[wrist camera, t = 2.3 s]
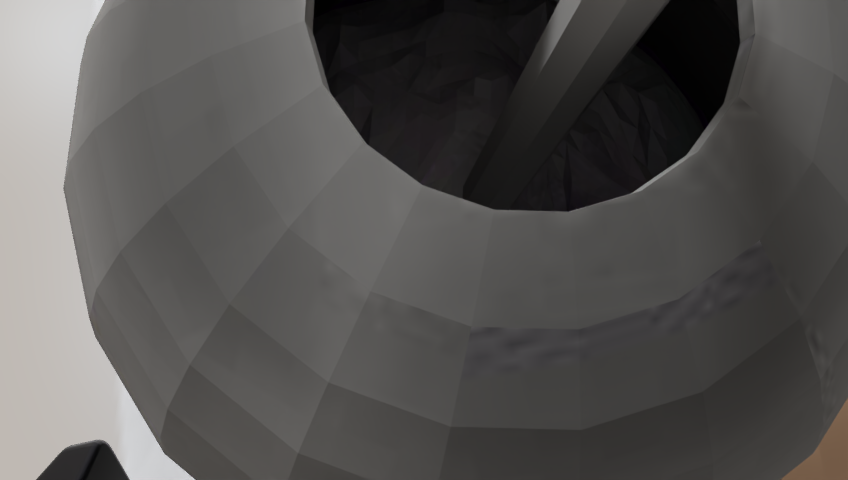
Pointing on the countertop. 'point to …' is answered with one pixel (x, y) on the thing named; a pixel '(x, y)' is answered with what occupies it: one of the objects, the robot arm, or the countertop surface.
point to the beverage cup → (469, 234)
